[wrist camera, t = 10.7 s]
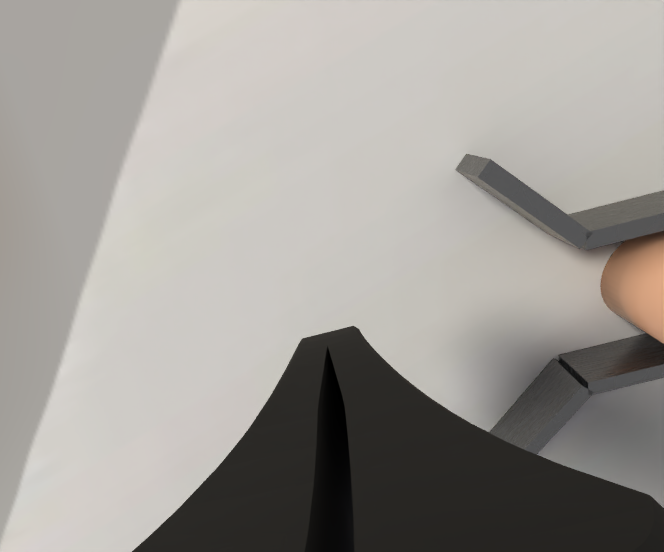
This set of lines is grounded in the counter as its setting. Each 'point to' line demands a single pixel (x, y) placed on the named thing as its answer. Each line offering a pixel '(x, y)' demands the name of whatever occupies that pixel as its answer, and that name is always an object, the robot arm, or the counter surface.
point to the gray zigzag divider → (587, 364)
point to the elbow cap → (637, 283)
